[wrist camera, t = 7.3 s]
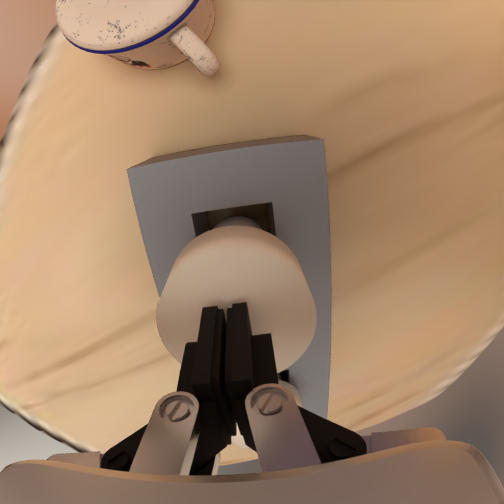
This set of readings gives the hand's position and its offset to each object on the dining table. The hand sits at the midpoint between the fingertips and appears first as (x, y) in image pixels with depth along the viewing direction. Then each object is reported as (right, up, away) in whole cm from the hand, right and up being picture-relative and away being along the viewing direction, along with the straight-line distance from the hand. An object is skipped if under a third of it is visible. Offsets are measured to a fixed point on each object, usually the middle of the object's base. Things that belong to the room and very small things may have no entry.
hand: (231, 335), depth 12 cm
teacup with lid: (-5, +20, +7) cm, 22 cm away
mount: (+1, 0, +16) cm, 16 cm away
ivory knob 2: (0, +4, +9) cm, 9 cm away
